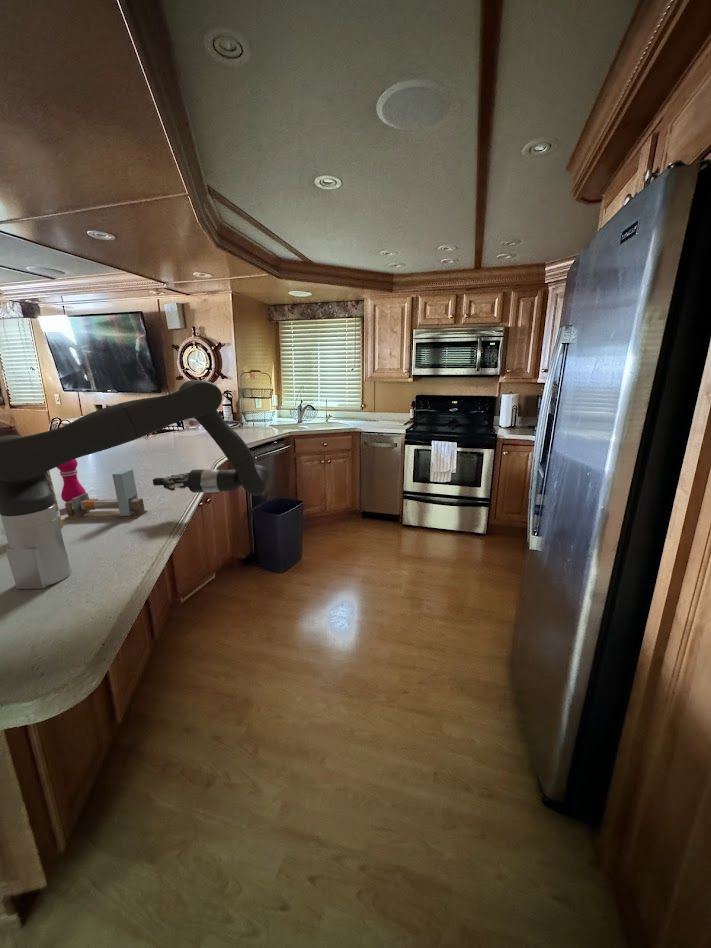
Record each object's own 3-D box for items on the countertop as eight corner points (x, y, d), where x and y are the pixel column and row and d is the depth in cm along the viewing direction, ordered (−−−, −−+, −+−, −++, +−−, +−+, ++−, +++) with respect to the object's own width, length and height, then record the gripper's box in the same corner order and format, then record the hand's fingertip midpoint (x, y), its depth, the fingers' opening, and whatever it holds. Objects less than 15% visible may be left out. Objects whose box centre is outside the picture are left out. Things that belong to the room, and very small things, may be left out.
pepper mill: (67, 505, 136) (54, 451, 131) (90, 502, 139) (79, 449, 134) (61, 511, 130) (48, 455, 125) (86, 508, 133) (74, 453, 128)
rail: (137, 518, 123) (133, 497, 121) (65, 519, 123) (60, 499, 121) (147, 511, 128) (144, 492, 127) (78, 512, 129) (74, 493, 127)
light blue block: (129, 515, 122) (121, 474, 119) (120, 515, 122) (112, 474, 119) (139, 509, 128) (132, 469, 125) (131, 509, 128) (123, 469, 125)
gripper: (212, 464, 128) (162, 465, 128) (196, 475, 115) (140, 476, 115) (215, 485, 129) (165, 486, 130) (199, 498, 117) (144, 499, 117)
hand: (154, 481), depth 122 cm, fingers closed
